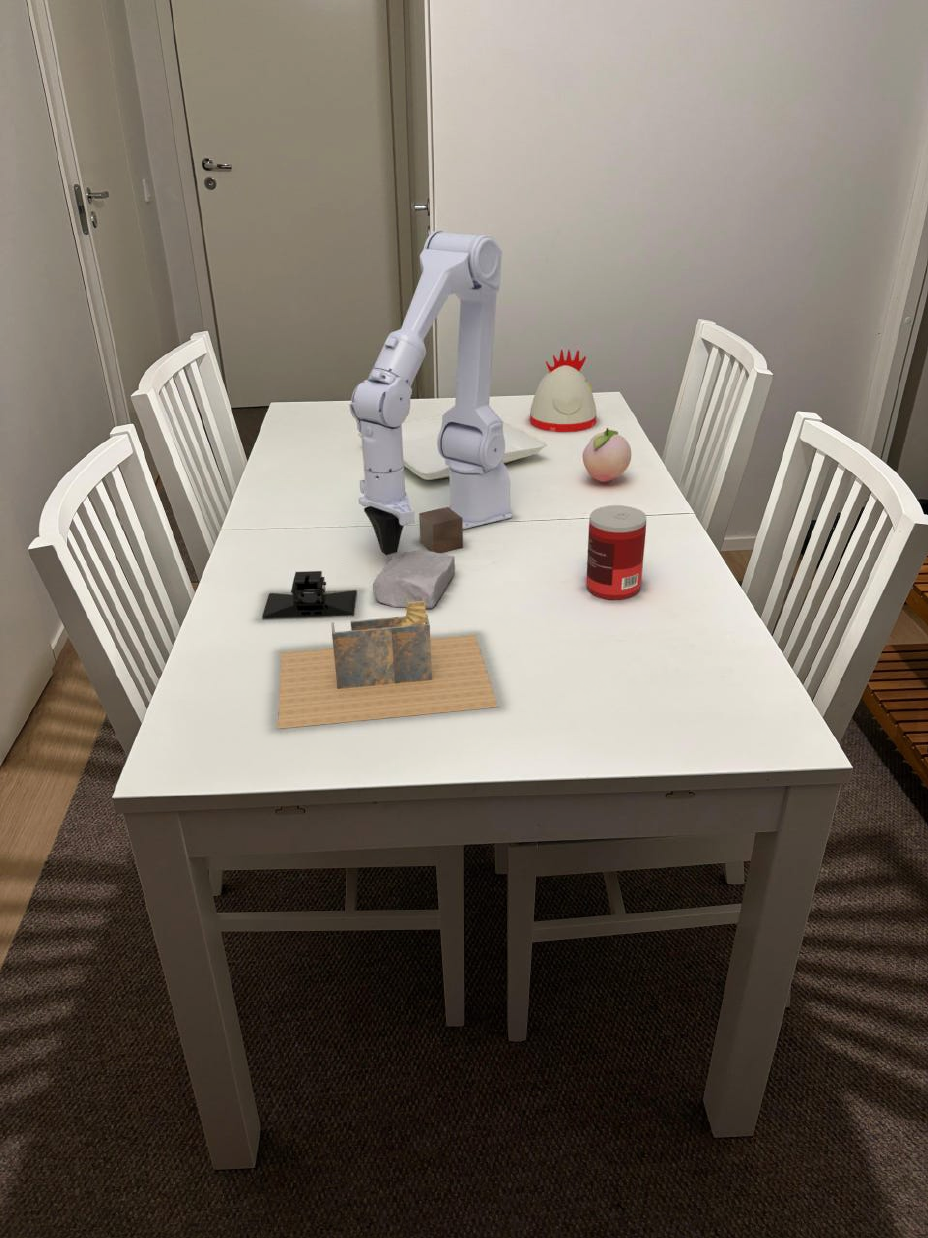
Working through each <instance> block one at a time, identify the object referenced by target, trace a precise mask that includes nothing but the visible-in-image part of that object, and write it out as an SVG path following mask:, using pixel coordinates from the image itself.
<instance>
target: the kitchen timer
mask: <svg viewBox="0 0 928 1238" xmlns="http://www.w3.org/2000/svg"><path fill="white" fill-rule="evenodd" d="M566 354H567V355H566V359H565V356H564V352H563V349H560V353H559V357H558V358H559V359H557V358H556V356H555V354H553V355H552V359H553V365H552V366H551V365H550V364H549V362H548V361H547V360H545V364H546V367H547V369H548V372H547V373H546V374H545V376H544V377H543V378H542V380H541V381H540V383H539V384H538V386H537V388H536V390H535V393H534V396H533V399H532V402H531V406H530V409H529V410H530V411H529V412H530V413H529V422H530V425H532V426H533V427H535V428H537V429H540V430H544V431H549V432H557V433H573V432H580V431H585V430H588V429H591V428H592V427H594V426H595V425H596V423H597V406H596V402H595V398H594V395H593V391H592V390H593V386H592V384H591V383H590V382H588V380H587V378H586V377H585V376H584V374H583V373H582V372H581V369H582V367H583V366H584V363H585V362H586V360H587V356H586V355H584V356H583V357H582V358H581V360H580V350H579V349H577V351H576V354H575V355H574V358H573V359H572V354H571V350H570V349H567V353H566Z"/></svg>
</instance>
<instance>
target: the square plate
mask: <svg viewBox="0 0 928 1238" xmlns="http://www.w3.org/2000/svg"><path fill="white" fill-rule="evenodd" d="M442 416H443V414H439V415H433V416H429V417H423V418H419V419H414V420H409V421H404V422H403V423H402V440H403V459H404V468H406V469H408V470H409V471H411V472H412V473H413V474H415V475H416V476H418V477H419V478H421V479H422V480H427V481H432V480H438V479H447V478H448V479H449V478H450V476H449V466H447V465H445V459H444V458H443V457H441V455H440V454H439V451H438V446H437V440H438V435H439V432H440V429H441V426H442ZM357 435H358V437H360V438H361V433H360V432H359V433H358V434H357ZM503 435H504V440H505V452H504V456H503V458H502V460H501V462H503V463H504V465H505V464H509V463H510V462H513V461H516V460H520V459H524V458H527V457H531V456H533V455H535V454H537V453H539V452H540V451H542V450H543V449H544V448H545V447H547V446H548V443H547V442H545V441H543V440H541V439H539V438H538V437H536V436H534V435H532V434H530V433H527V432H526V431H523V430H521V429H519V428H518V427H515V426H514V425H511V424H509V423H507V422H505V421H503Z"/></svg>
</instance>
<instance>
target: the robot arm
mask: <svg viewBox="0 0 928 1238" xmlns="http://www.w3.org/2000/svg"><path fill="white" fill-rule="evenodd" d="M502 253H503V251H502V249H501V248H500V246H499V245H498V242H496V240H495V239H494V237H492V236H491V235H489V234H481V235H480V234H469V233H468V234H467V233H459V232H458V233H457V232H456V233H455V232H446V231H443V230H435V231H433V232H430V234H429V236H428V237H427V238H426V240H425V242H424V246H423V249H422V251H421V253H420V255H419V265H420V270H421V275H420V278H419V280H418V282H417V285H416V288H415V290H414V293H413V296H412V299H411V301H410V304H409V307H408V309H407V311H406V315H405V317H404V319H403V321H402V326H400V329H397V330H395V331H392V332H390V333H389V334H388V336H387V337H386V340H385V342H384V344H383V346H382V348H381V351H380V353H379V355H378V357H377V359H376V361H375V363H374V365H373V367H372V369H371V371H370V373H369V375H368V378H367V379H365V380H363V381H362V382H360V383H359V384H357V385H356V386H355V388H354V390H353V392H352V395H351V400H350V401H351V402H350V403H349V404H348V405H349V412H350V414H351V416H352V417H353V419H354V420H355V421H356V429H357V431H358V432H359V433H361V437H360V438H361V449H362V461H363V462H362V463H363V474H364V479H360V480H359V488H360V489H359V491H360V493H361V494H362V495H363V496H362V497H359V498H358V504H359V505H360V506H362V507H364V508H363V512H364V514H365V515H366V516H367V519H368V520H369V522H370V523H371V526H372V528H373V531H374V534H375V537H376V539H377V543H378V546H379V549H380V551H381V553H382V554H383V555H384V556H389V555H392V554H397V553H398V551H399V548H400V547H399V546H400V542H401V537H402V533H403V529H404V527H405V526H407V525H412V524H415V521H416V520H415V510H414V509H413V508H412V507H411V504H410V500H409V497H408V493H407V491H406V479H405V478H406V477H405V466H404V459H403V440H402V423H404V422H405V420H406V419H407V417H408V416H409V414H410V410H411V397H412V394H413V388H412V384H413V383H414V381H415V378H416V376H417V374H418V373H419V370H420V368H421V366H422V364H423V362H424V359H425V357H426V355H427V349H426V345H425V342H424V340H425V338H426V336H427V334H428V333H429V331H430V330H431V328H432V326H433V324H434V322H435V321H436V319H437V318H438V316H439V314H440V312H441V310H442V309H443V306H444V305H445V303H446V301H447V300H448V298H449V296H450V295H453V294H455V296H456V297H457V298H458V299H459V301H460V304H459V305H460V306H459V323H458V324H459V325H458V343H457V361H456V363H457V365H456V381H455V401H454V403H455V404H454V405H453V406H452V407H450V409H448V410H446V412H445V413H443V414H442V415H443V416H442V426H441V429H440V432H439V435H438V440H437V446H438V451H439V454H440V455H441V457H443V458H444V459H445V465H447V466H449V476H450V477H449V504H450V505H449V508H450V509H451V510H453V511H454V512H455V513H457V514H458V515H459V516H461V517H462V521H463V530H467V529H471V528H474V527H478V526H483V525H487V524H491V523H495V522H498V521H503V520H507V519H511V518H513V514H512V513H510V512H511V511H510V510H511V506H510V503H511V481H510V474H509V470H508V468H507V466H506V465H505V464H504V463H503V462H501V460H502V458H503V456H504V452H505V440H504V435H503V422H504V420H503V419H502V418H501V417H500V416H499V415H498V414H497V413H496V412H495V411H494V409H493V408H492V407H491V406H490V398H491V397H490V396H491V380H492V370H493V369H492V368H493V353H494V338H495V323H496V308H497V294H499V293H500V285H501V284H500V283H501V270H502V269H501V268H502Z"/></svg>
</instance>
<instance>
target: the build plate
mask: <svg viewBox="0 0 928 1238" xmlns="http://www.w3.org/2000/svg"><path fill="white" fill-rule="evenodd" d="M294 572H295V573H294V576H293V580H292V584H291V589H290V591H288V592H287V591H285V592H283V591H282V592H269V593H268V595H267V598H266V602H265V605H264V609H263V612H262V615H261V619H262V620H283V619H311V618H312V619H313V618H339V617H341V618H342V617H343V618H344V617H355V612H356V606H357V605H356V604H357V596H358V589H344V590H326V586H327V581H326V580H325V579H326V578H325V576H323V571H322V570H312V571H311V570H310V571H309V570H308V571H307V570H306V571H294Z"/></svg>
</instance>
